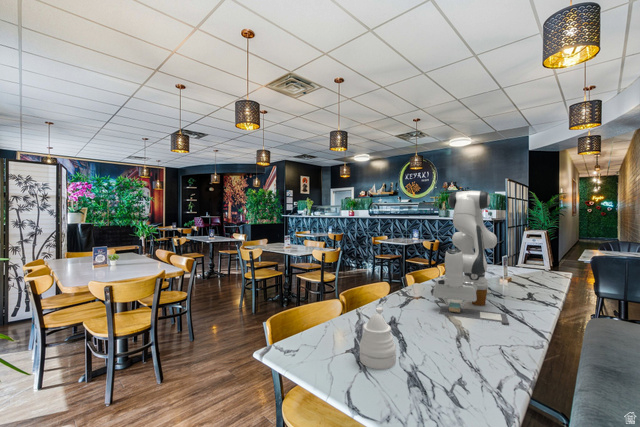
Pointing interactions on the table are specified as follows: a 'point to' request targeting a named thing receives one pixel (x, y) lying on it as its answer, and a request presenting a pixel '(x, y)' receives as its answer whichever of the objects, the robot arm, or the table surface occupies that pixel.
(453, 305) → the teal flat block
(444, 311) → the rubber mat
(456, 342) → the table surface
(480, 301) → the disposable coffee cup
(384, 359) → the honey pot
